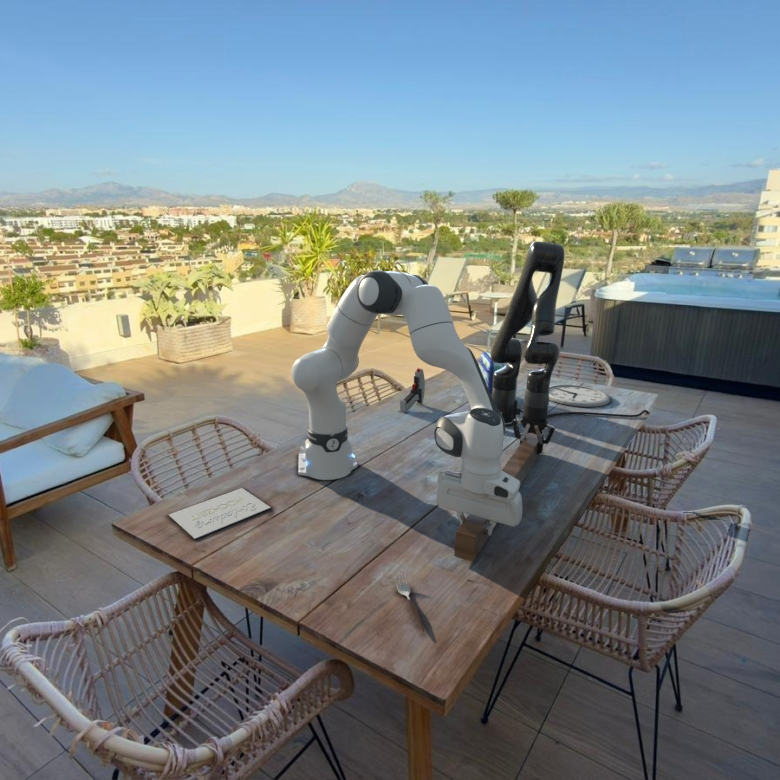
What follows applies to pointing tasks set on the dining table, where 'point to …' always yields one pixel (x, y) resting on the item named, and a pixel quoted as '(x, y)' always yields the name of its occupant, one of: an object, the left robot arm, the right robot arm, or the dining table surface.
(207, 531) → the invitation card
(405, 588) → the fork
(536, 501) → the dining table surface
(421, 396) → the toy gun
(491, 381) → the lunch box
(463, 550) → the post
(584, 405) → the wall clock
